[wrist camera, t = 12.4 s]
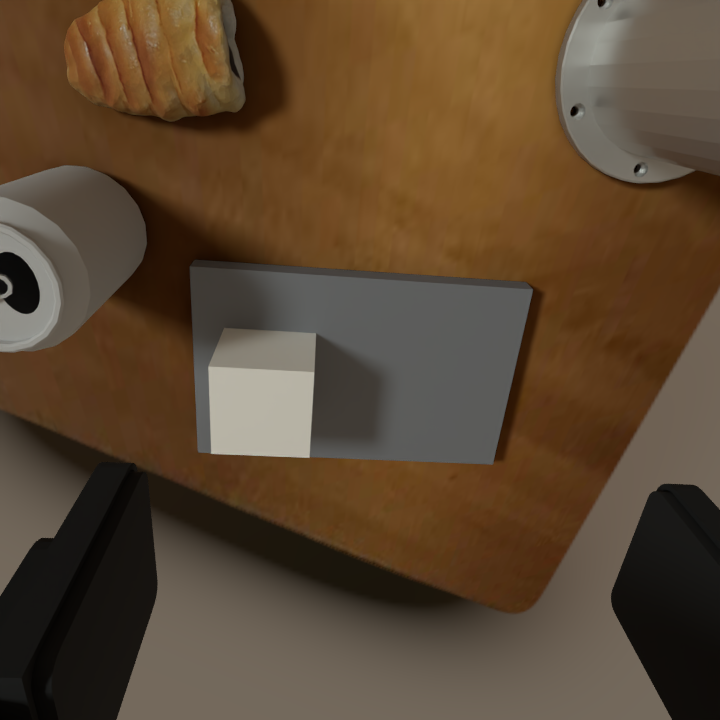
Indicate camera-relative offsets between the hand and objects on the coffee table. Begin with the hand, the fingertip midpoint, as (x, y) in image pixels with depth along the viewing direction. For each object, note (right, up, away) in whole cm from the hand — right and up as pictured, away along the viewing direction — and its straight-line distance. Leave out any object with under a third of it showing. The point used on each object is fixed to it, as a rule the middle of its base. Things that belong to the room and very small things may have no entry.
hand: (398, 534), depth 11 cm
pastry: (-11, +20, +21) cm, 32 cm away
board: (-1, +3, +30) cm, 30 cm away
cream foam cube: (-7, +3, +28) cm, 29 cm away
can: (-18, +12, +25) cm, 33 cm away
